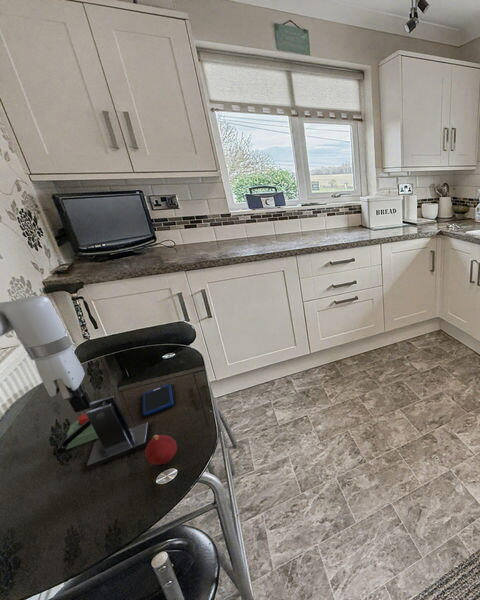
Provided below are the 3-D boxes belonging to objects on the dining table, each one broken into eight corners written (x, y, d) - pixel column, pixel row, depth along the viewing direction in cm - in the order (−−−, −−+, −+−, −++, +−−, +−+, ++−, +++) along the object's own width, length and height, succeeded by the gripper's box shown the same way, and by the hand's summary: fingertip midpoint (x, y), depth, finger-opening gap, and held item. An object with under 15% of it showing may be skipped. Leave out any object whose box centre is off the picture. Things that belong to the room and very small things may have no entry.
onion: (151, 462, 75) (138, 435, 72) (179, 448, 78) (168, 421, 76) (153, 477, 71) (139, 449, 68) (183, 462, 74) (171, 434, 71)
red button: (79, 427, 84) (76, 422, 83) (82, 419, 87) (79, 414, 86) (97, 421, 85) (94, 415, 85) (99, 413, 88) (96, 408, 88)
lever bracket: (88, 469, 75) (63, 425, 70) (96, 445, 82) (74, 404, 78) (146, 446, 80) (126, 404, 76) (149, 425, 87) (131, 386, 83)
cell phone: (171, 385, 105) (170, 383, 105) (174, 405, 95) (173, 403, 94) (143, 395, 101) (142, 393, 101) (143, 417, 91) (142, 415, 90)
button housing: (66, 449, 82) (59, 437, 80) (74, 431, 88) (68, 419, 87) (116, 431, 87) (110, 419, 85) (120, 415, 93) (115, 403, 92)
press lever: (63, 455, 73) (51, 451, 72) (69, 442, 77) (58, 437, 76) (111, 413, 76) (101, 408, 75) (115, 403, 80) (105, 398, 79)
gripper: (39, 341, 82) (72, 400, 89) (15, 365, 70) (56, 431, 77) (78, 331, 86) (107, 389, 93) (61, 353, 74) (96, 417, 81)
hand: (84, 408), depth 85 cm, fingers closed
